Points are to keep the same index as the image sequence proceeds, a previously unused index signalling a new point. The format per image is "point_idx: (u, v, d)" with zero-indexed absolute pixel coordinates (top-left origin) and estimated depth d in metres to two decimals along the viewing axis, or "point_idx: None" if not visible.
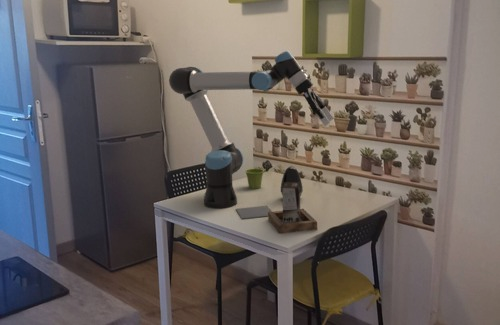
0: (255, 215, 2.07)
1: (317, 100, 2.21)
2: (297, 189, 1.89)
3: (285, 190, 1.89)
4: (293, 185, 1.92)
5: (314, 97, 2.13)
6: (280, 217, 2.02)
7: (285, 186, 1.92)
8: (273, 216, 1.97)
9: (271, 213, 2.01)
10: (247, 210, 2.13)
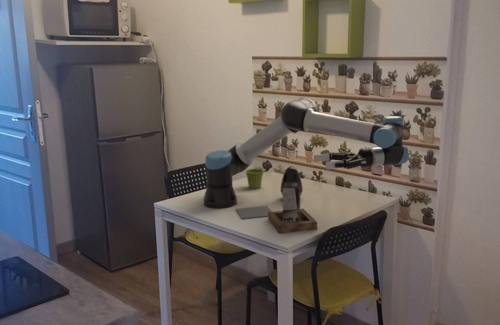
0: (255, 215, 2.07)
1: (341, 158, 2.00)
2: (297, 189, 1.89)
3: (285, 190, 1.89)
4: (293, 185, 1.92)
5: None
6: (280, 217, 2.02)
7: (285, 186, 1.92)
8: (273, 216, 1.97)
9: (271, 213, 2.01)
10: (247, 210, 2.13)
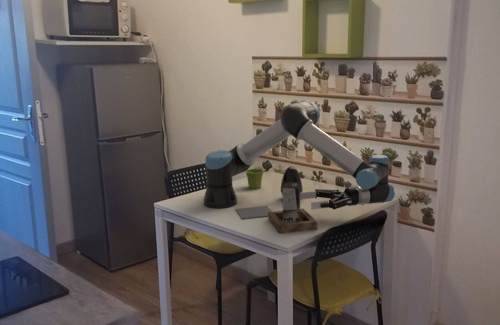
0: (255, 215, 2.07)
1: (328, 196, 2.01)
2: (297, 189, 1.89)
3: (285, 190, 1.89)
4: (293, 185, 1.92)
5: None
6: (280, 217, 2.02)
7: (285, 186, 1.92)
8: (273, 216, 1.97)
9: (271, 213, 2.01)
10: (247, 210, 2.13)
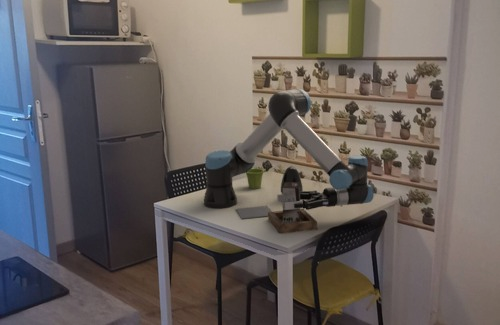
0: (255, 215, 2.07)
1: (306, 198, 1.99)
2: (297, 189, 1.89)
3: (285, 190, 1.89)
4: (293, 185, 1.92)
5: None
6: (280, 217, 2.02)
7: (285, 186, 1.92)
8: (273, 216, 1.97)
9: (271, 213, 2.01)
10: (247, 210, 2.13)
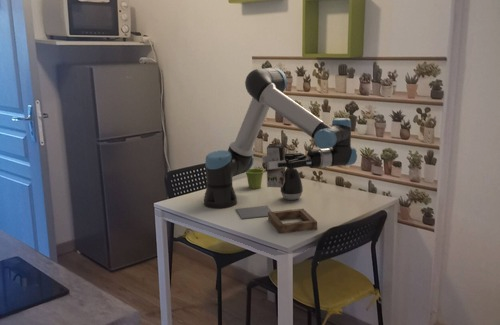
0: (255, 215, 2.07)
1: (291, 159, 2.02)
2: (281, 148, 1.92)
3: (269, 150, 1.93)
4: (277, 145, 1.95)
5: None
6: (280, 217, 2.02)
7: (269, 146, 1.95)
8: (273, 216, 1.97)
9: (271, 213, 2.01)
10: (247, 210, 2.13)
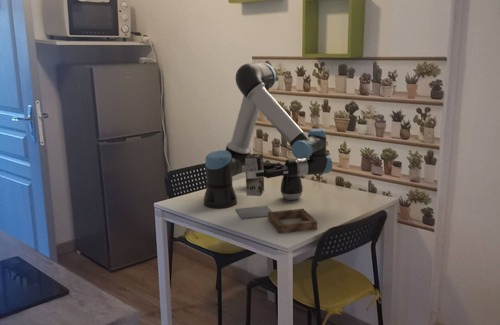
0: (255, 215, 2.07)
1: (269, 169, 2.12)
2: (259, 159, 2.01)
3: (247, 160, 2.02)
4: (255, 156, 2.05)
5: None
6: (280, 217, 2.02)
7: (248, 157, 2.04)
8: (273, 216, 1.97)
9: (271, 213, 2.01)
10: (247, 210, 2.13)
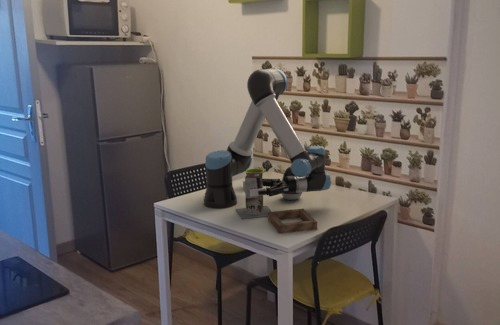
0: (255, 215, 2.07)
1: (269, 185, 2.14)
2: (258, 179, 2.04)
3: (247, 180, 2.04)
4: (255, 175, 2.07)
5: None
6: (280, 217, 2.02)
7: (248, 176, 2.07)
8: (273, 216, 1.97)
9: (271, 213, 2.01)
10: None
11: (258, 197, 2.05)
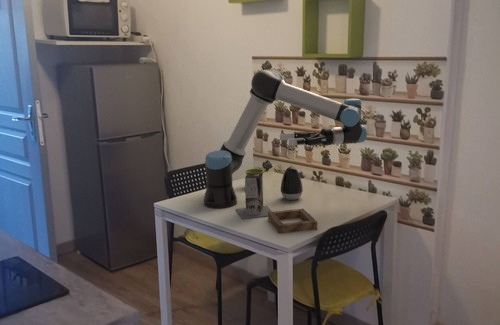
0: (255, 215, 2.07)
1: None
2: (258, 179, 2.04)
3: (247, 180, 2.04)
4: (255, 175, 2.07)
5: None
6: (280, 217, 2.02)
7: (248, 176, 2.07)
8: (273, 216, 1.97)
9: (271, 213, 2.01)
10: None
11: (258, 197, 2.05)
